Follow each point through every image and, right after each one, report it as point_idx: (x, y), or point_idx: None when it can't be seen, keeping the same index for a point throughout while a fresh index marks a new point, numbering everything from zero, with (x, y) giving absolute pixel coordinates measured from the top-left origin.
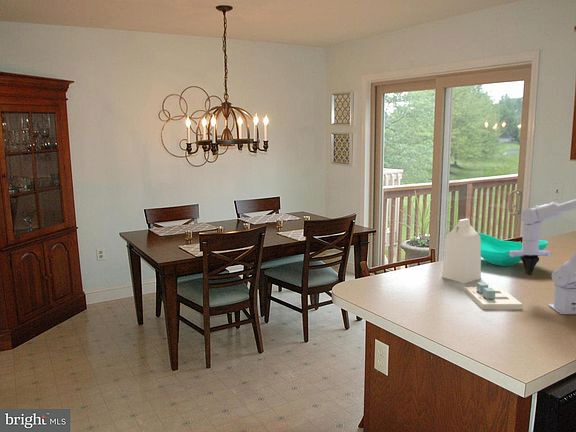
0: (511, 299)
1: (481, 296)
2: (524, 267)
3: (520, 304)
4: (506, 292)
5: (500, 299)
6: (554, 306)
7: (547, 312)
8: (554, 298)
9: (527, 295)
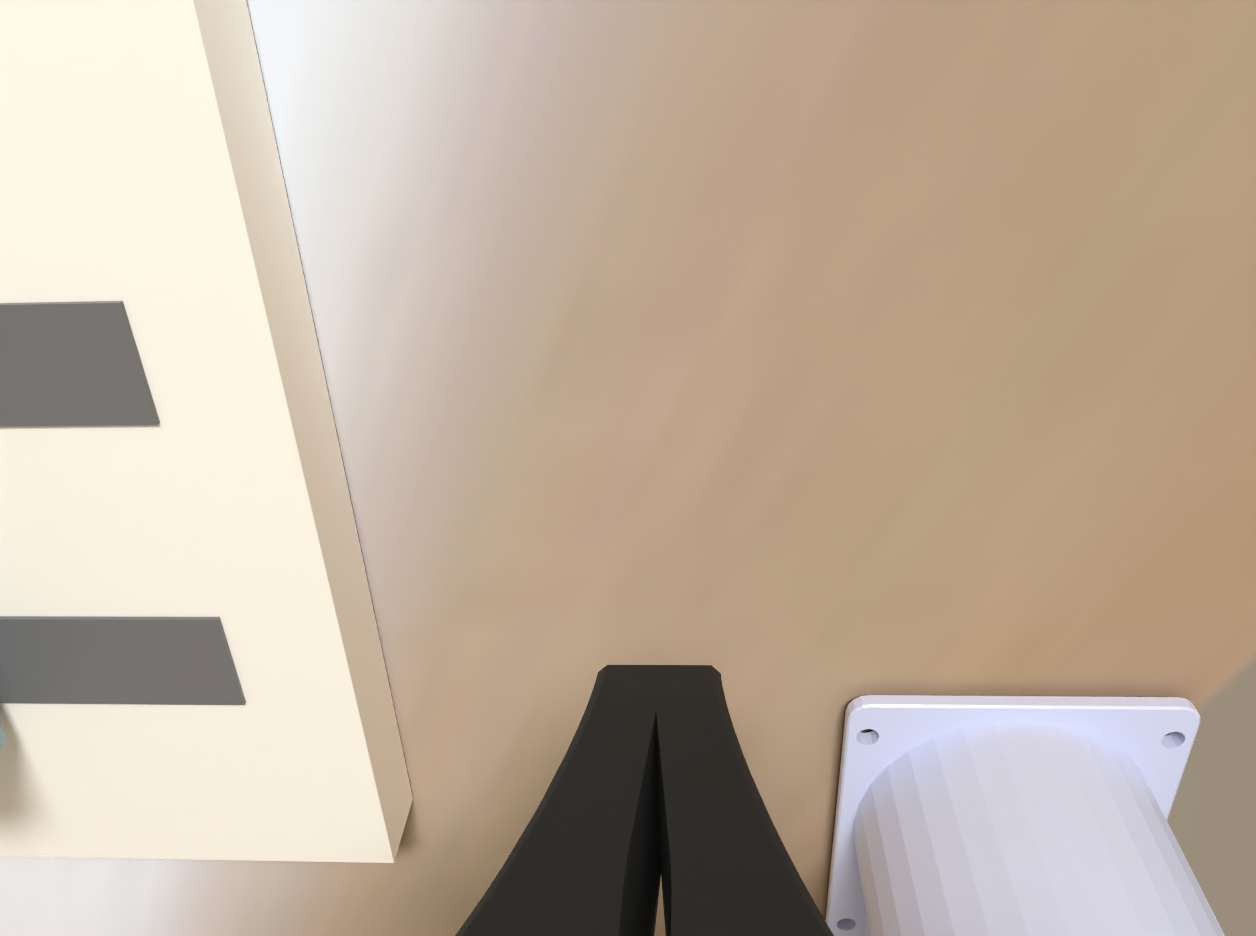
0: (277, 713)
1: None
2: (536, 817)
3: (366, 856)
4: (262, 381)
5: (103, 713)
6: (855, 837)
7: None
8: (879, 924)
9: (770, 207)
